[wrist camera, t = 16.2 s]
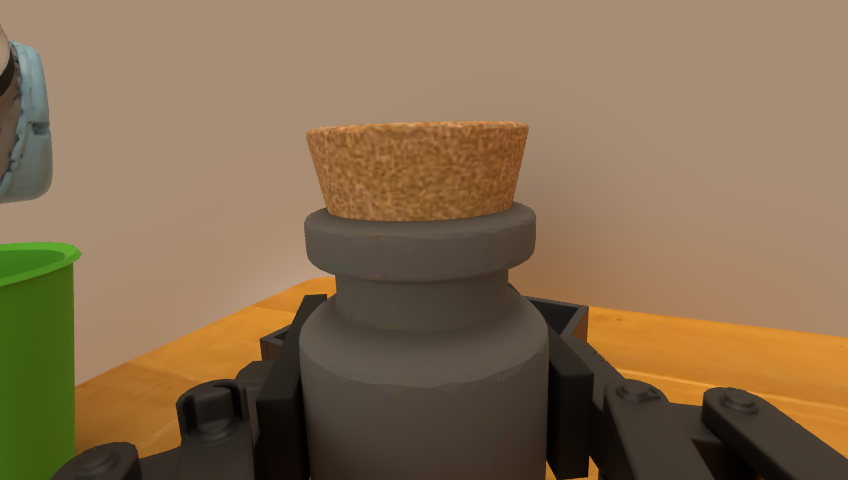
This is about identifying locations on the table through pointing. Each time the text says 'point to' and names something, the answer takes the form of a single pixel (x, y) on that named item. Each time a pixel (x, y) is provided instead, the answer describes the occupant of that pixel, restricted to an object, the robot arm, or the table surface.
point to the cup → (36, 359)
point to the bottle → (423, 307)
